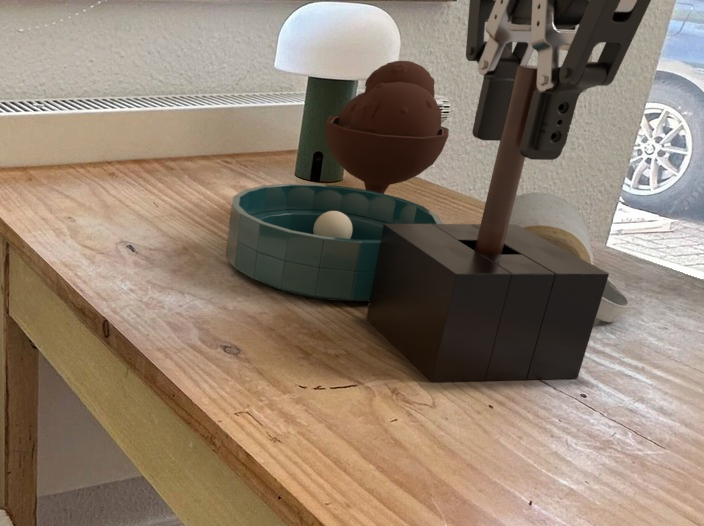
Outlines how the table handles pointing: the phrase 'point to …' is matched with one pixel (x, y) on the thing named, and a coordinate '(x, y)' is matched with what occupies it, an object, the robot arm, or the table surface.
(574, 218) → the ceramic mug
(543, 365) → the holder
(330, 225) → the dough ball
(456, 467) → the table surface
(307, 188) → the bowl
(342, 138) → the ice cream bowl
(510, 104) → the stick
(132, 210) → the table surface
